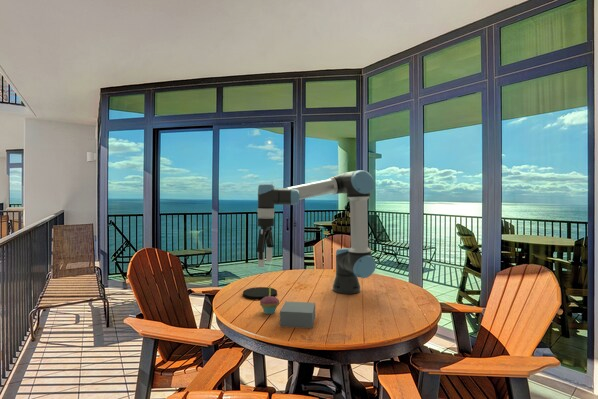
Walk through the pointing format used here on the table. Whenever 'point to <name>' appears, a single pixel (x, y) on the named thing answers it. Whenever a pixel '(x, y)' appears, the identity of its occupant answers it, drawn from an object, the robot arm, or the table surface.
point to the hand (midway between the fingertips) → (265, 264)
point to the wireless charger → (258, 293)
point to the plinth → (297, 314)
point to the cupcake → (269, 303)
